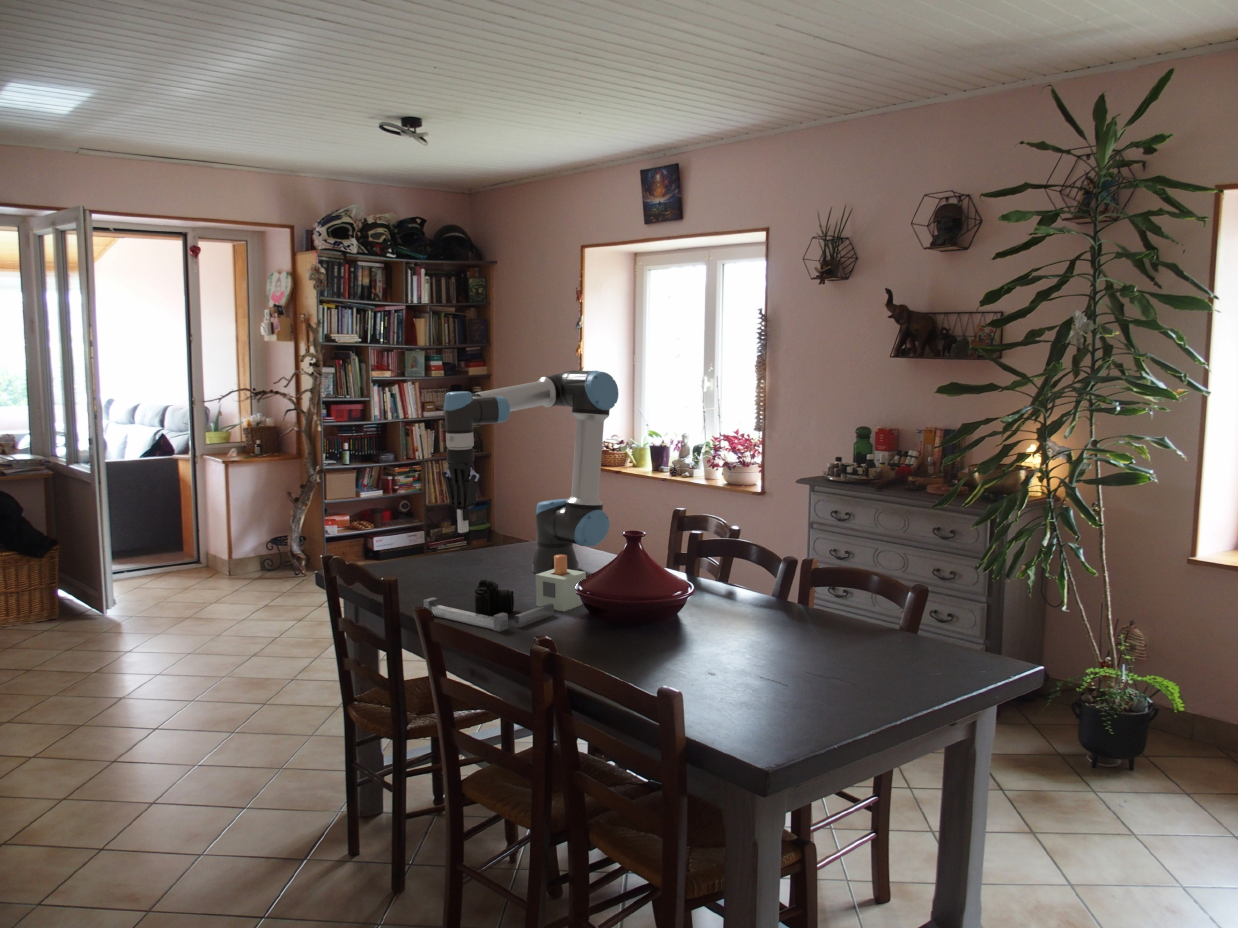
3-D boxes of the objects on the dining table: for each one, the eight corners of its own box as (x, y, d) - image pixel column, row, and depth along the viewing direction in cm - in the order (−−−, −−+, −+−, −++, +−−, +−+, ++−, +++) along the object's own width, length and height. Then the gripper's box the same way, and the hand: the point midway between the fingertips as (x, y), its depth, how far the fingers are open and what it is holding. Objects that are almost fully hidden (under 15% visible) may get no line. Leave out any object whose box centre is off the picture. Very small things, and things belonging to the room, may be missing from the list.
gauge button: (559, 574, 268) (559, 553, 267) (569, 576, 266) (569, 555, 265) (551, 577, 265) (551, 556, 265) (561, 579, 263) (561, 557, 262)
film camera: (508, 621, 252) (507, 588, 250) (472, 621, 252) (471, 588, 251) (516, 605, 267) (515, 574, 266) (482, 605, 267) (481, 574, 266)
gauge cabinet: (558, 597, 274) (558, 567, 273) (586, 603, 268) (585, 572, 267) (535, 606, 265) (534, 574, 264) (562, 611, 260) (562, 579, 258)
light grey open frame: (474, 598, 274) (474, 584, 274) (553, 614, 257) (553, 600, 256) (423, 614, 258) (423, 599, 258) (504, 633, 241) (504, 617, 241)
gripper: (433, 447, 262) (437, 531, 265) (467, 450, 254) (470, 536, 257) (453, 445, 268) (456, 526, 271) (486, 447, 260) (489, 531, 263)
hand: (463, 531), depth 264 cm, fingers closed
